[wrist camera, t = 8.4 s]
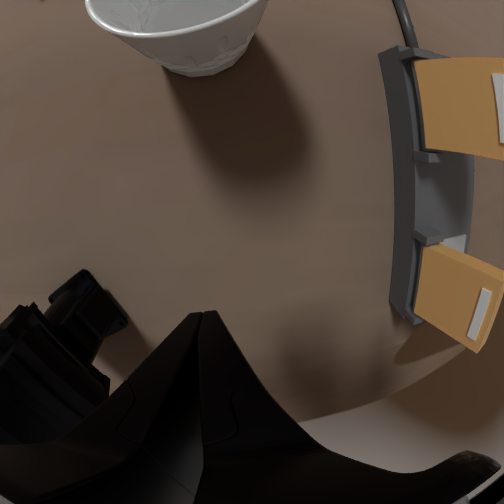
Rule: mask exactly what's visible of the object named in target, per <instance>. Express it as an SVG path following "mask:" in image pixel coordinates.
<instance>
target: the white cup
mask: <svg viewBox="0 0 504 504" xmlns="http://www.w3.org/2000/svg"><path fill="white" fill-rule="evenodd" d="M267 3H268V0H85V5H86V9H87V12H88V14H89V15H90V17H91V18H92V20H93V21H94V22H95V23H96V24H97V25H98V26H100V27H101V28H103V29H104V30H106V31H108V32H109V33H111V34H113V35H114V36H116V37H118V38H119V39H121V40H122V41H124V42H126V43H127V44H129V45H130V46H132V47H133V48H135V49H136V50H137V51H139V52H140V53H142V54H143V55H145V56H147V57H149V58H150V59H152V60H153V61H155V62H156V63H158V64H160V65H162V66H164V67H166V68H167V69H168V70H170V71H171V72H174V73H178V74H181V75H184V76H188V77H200V76H210V75H215V74H217V73H219V72H221V71H223V70H225V69H227V68H229V67H231V66H233V65H234V64H235V63H236V62H237V60H238V59H239V58H240V57H241V56H242V55H243V54H244V53H245V51H246V50H247V47H248V44H249V42H250V40H251V38H252V37H253V35H254V33H255V31H256V28H257V26H258V24H259V22H260V20H261V18H262V15H263V13H264V10H265V8H266V5H267Z"/></svg>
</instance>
